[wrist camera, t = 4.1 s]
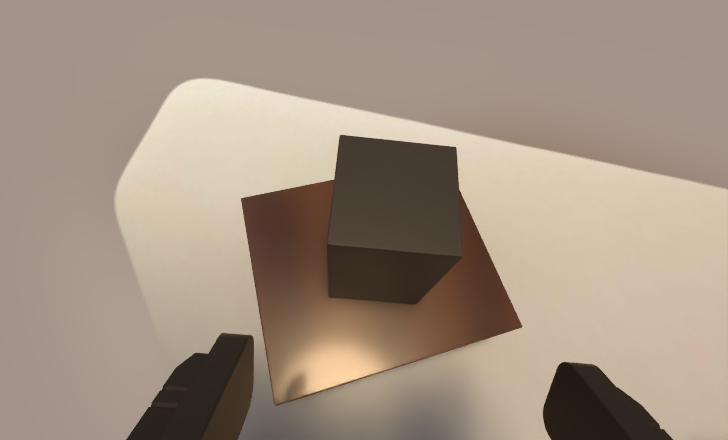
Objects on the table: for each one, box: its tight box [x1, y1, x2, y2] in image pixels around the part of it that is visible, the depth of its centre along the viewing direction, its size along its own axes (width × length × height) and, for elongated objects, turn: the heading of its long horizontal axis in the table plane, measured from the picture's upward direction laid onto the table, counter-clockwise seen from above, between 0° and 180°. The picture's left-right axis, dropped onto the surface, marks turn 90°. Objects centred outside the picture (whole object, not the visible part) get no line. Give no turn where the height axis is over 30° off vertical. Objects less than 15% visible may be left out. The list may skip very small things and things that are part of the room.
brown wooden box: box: [241, 180, 522, 406], centre depth 23 cm, size 14×12×5 cm
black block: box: [327, 135, 463, 305], centre depth 17 cm, size 5×5×8 cm
